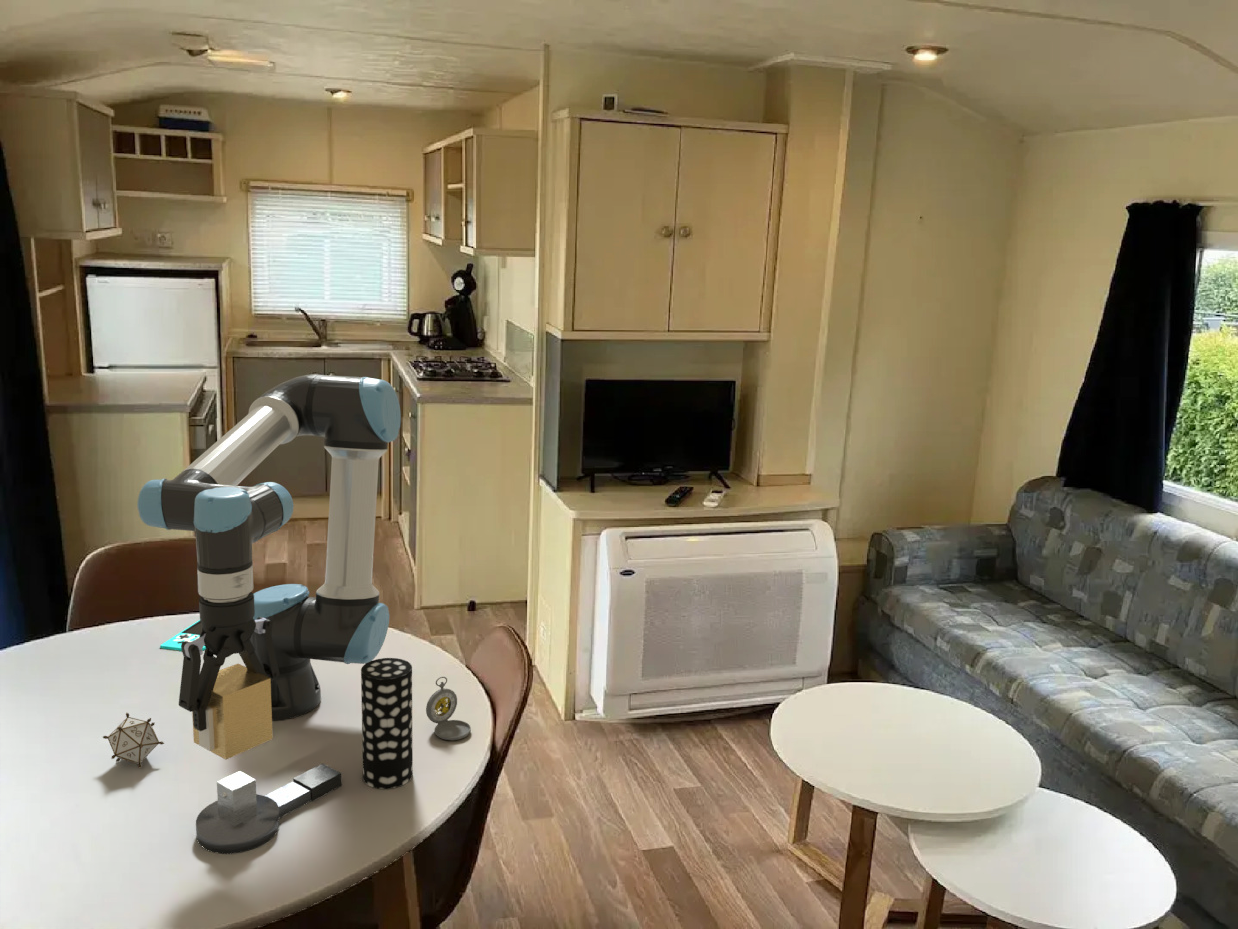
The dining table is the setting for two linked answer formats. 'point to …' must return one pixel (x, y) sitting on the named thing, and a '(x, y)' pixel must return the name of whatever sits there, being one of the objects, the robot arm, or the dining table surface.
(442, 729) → the pocket watch
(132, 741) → the game die
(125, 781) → the dining table surface
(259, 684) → the golden tan block
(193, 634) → the handheld game console
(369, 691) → the white-spotted black cylinder
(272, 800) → the grey handled disc
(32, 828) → the dining table surface
